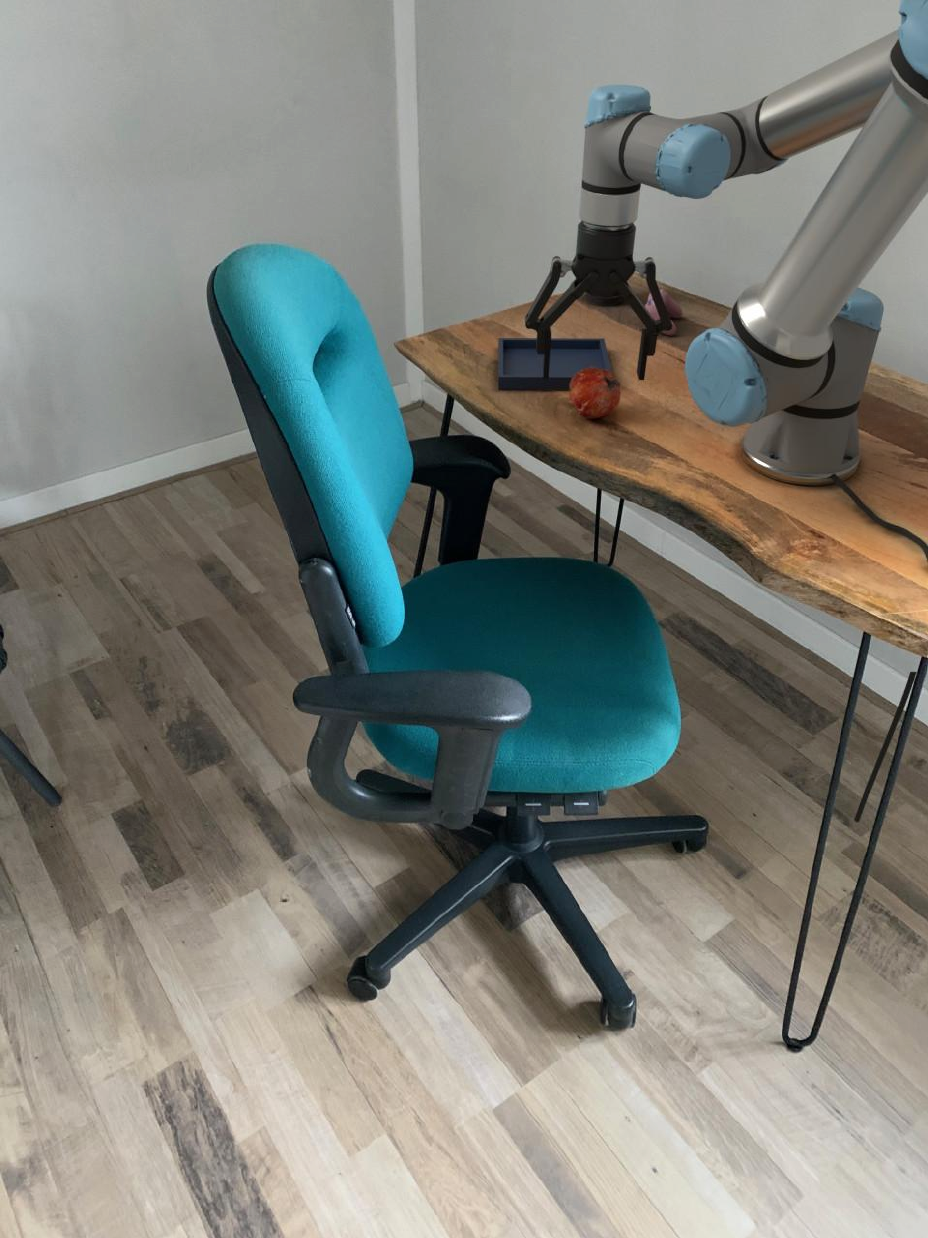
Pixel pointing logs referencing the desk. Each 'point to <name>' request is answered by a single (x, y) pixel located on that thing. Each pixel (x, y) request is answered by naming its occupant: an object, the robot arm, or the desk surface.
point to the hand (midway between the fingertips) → (592, 375)
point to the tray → (567, 358)
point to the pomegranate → (594, 392)
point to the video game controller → (670, 305)
